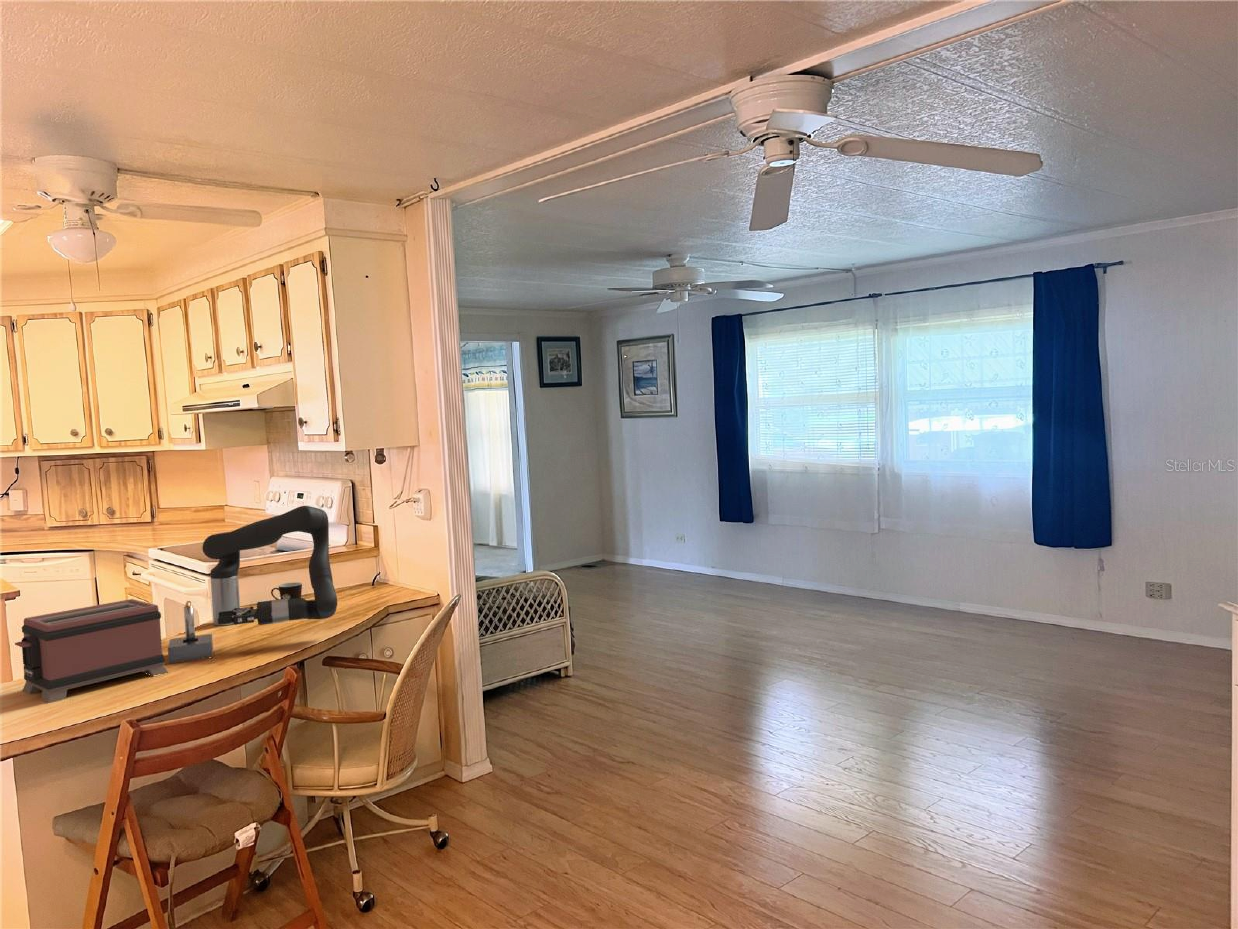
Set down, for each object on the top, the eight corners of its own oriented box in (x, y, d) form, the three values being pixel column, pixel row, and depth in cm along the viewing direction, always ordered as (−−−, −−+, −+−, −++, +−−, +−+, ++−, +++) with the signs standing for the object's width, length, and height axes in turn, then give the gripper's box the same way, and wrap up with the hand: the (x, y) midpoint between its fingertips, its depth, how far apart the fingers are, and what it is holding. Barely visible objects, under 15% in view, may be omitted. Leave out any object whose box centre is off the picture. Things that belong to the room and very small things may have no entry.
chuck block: (171, 654, 270) (170, 638, 269) (212, 648, 275) (212, 633, 274) (168, 663, 259) (167, 647, 258) (212, 658, 264) (211, 642, 263)
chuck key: (187, 651, 268) (183, 601, 268) (196, 650, 270) (193, 600, 269) (186, 655, 263) (182, 604, 262) (195, 654, 264) (192, 603, 263)
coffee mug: (308, 608, 330) (306, 583, 330) (289, 613, 323) (287, 587, 323) (289, 606, 337) (288, 581, 336) (270, 610, 329) (268, 585, 329)
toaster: (9, 694, 234) (4, 621, 233) (139, 663, 261) (135, 597, 260) (35, 707, 222) (29, 630, 221) (168, 673, 249) (164, 604, 248)
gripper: (271, 596, 282) (218, 602, 276) (273, 604, 269) (216, 611, 263) (272, 618, 283) (219, 625, 276) (274, 627, 270) (218, 634, 263)
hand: (218, 618), depth 269 cm, fingers open, 8 cm apart
